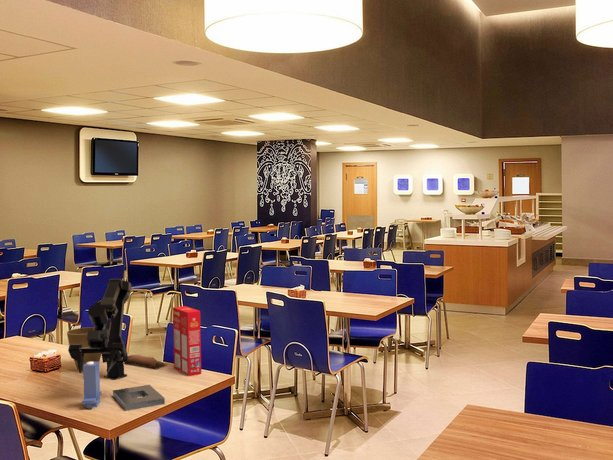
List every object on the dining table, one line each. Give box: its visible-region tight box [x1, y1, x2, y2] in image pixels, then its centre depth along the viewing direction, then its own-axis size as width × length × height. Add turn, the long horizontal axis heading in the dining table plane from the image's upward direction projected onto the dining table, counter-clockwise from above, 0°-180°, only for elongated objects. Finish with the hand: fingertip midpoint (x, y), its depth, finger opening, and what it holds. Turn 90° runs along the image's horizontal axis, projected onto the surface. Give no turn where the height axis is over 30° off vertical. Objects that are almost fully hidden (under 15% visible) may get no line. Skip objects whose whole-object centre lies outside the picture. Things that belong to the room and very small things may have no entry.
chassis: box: [112, 384, 166, 411], centre depth 220 cm, size 18×13×2 cm
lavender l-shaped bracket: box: [81, 361, 103, 409], centre depth 215 cm, size 10×4×15 cm, turn 4°
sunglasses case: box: [124, 354, 168, 370], centre depth 266 cm, size 18×7×7 cm
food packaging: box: [172, 305, 202, 377], centre depth 255 cm, size 15×5×25 cm, turn 34°
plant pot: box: [66, 326, 102, 372], centre depth 260 cm, size 15×15×16 cm
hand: (93, 372), depth 218 cm, fingers open, 9 cm apart
